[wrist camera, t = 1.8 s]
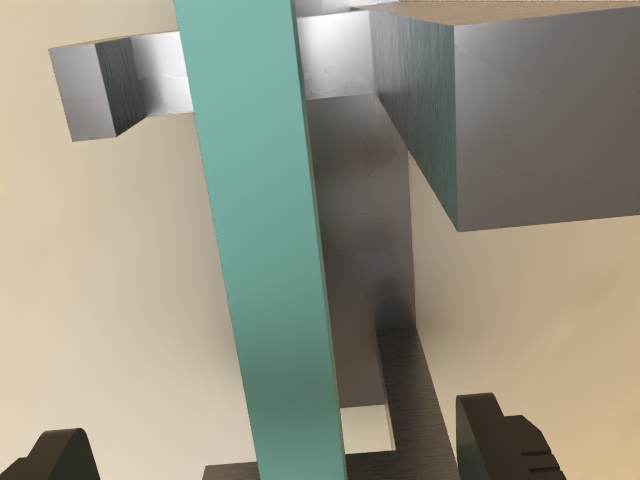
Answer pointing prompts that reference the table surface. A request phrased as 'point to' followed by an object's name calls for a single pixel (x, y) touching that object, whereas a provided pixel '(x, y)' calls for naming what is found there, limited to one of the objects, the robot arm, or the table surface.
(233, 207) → the teal rail
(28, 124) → the table surface
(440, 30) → the hook rack
